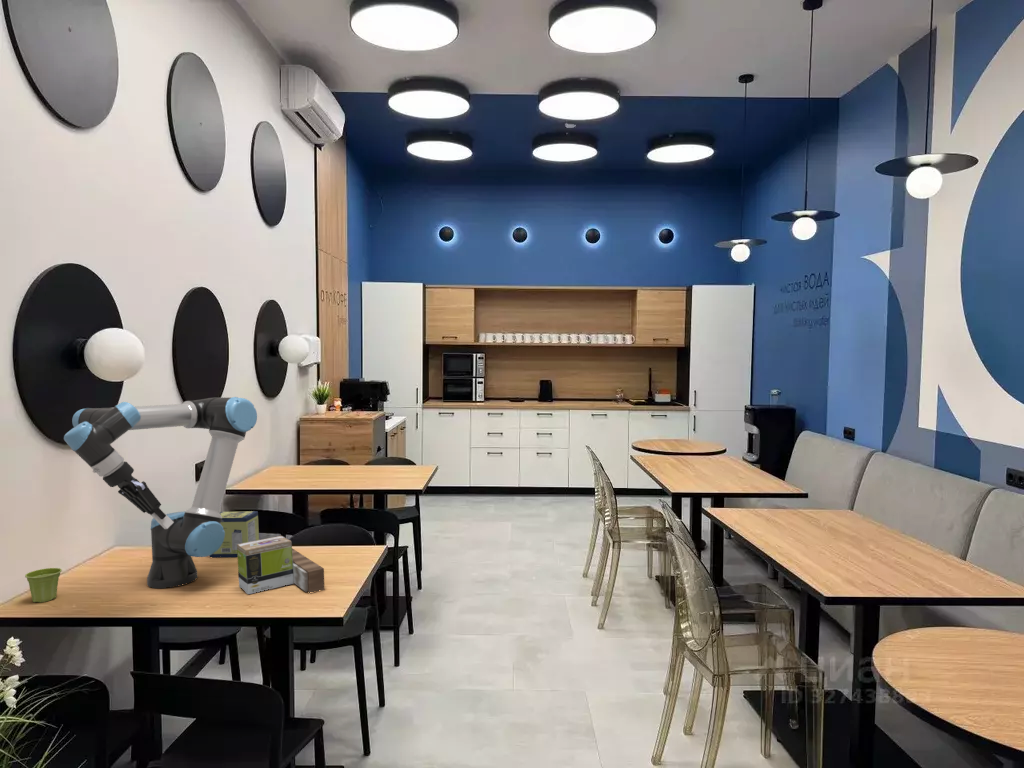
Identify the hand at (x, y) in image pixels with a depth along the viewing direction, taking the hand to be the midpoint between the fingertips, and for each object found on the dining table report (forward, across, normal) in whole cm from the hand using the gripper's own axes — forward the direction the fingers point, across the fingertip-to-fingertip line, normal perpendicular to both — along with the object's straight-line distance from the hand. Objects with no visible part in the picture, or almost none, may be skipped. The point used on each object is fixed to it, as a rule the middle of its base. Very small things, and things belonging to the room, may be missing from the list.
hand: (169, 525), depth 194 cm
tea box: (+36, +5, +6) cm, 37 cm away
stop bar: (+42, +10, +14) cm, 46 cm away
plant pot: (+2, -45, -25) cm, 51 cm away
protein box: (+38, -38, +24) cm, 59 cm away
